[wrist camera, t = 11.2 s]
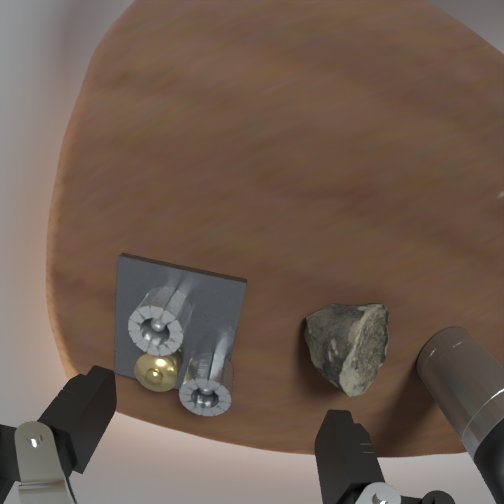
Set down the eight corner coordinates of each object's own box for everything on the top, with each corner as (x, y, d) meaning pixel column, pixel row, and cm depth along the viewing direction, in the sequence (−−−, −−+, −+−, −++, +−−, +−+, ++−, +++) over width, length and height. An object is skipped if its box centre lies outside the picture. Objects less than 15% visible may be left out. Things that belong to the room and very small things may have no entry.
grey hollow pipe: (231, 352, 36) (228, 378, 31) (235, 388, 37) (232, 416, 32) (184, 352, 36) (175, 378, 31) (191, 388, 37) (184, 415, 32)
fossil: (403, 346, 36) (394, 411, 28) (339, 357, 41) (319, 416, 34) (378, 277, 33) (366, 341, 26) (307, 296, 39) (278, 354, 31)
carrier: (247, 279, 34) (245, 298, 30) (222, 392, 39) (218, 418, 34) (122, 252, 34) (104, 266, 29) (118, 367, 38) (105, 390, 33)
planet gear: (194, 292, 34) (185, 313, 29) (188, 336, 35) (179, 361, 30) (145, 281, 33) (129, 300, 29) (142, 325, 35) (127, 348, 30)
